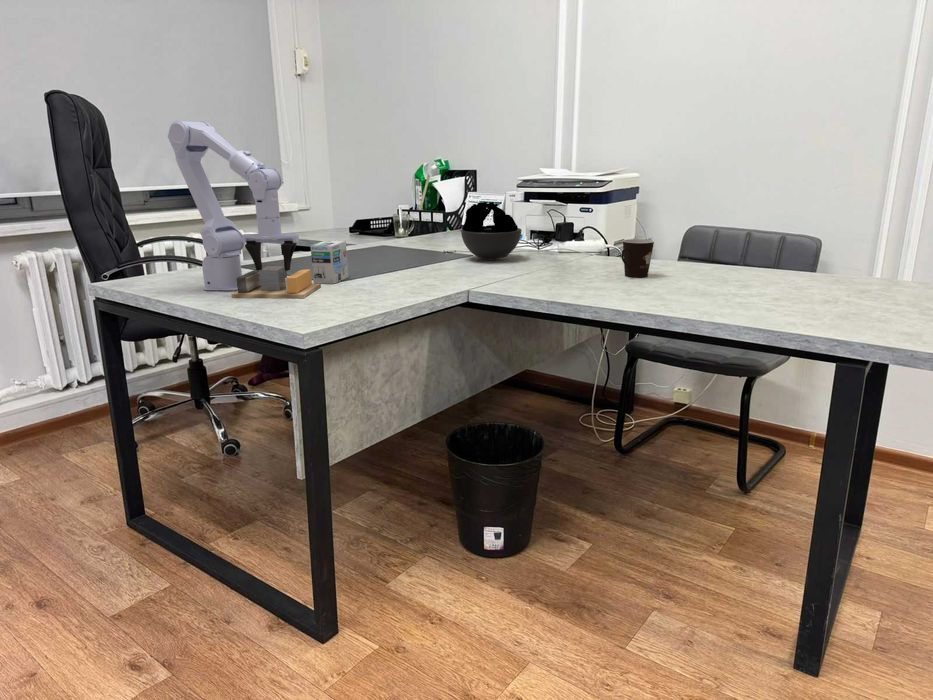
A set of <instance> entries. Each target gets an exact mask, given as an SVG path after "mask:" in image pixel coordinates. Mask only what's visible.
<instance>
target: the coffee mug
mask: <svg viewBox="0 0 933 700" xmlns="http://www.w3.org/2000/svg"><path fill="white" fill-rule="evenodd" d="M654 243H655V240H652V239H646V238H645V239H644V238H643V239H642V238H629V239H624V240H622V251H621V255H620V256H621V257H620V258H621V261H622V263H623V267H624V268H623V269H624V277H626V278H631V279H645V278H648V276H649V270H650V265H651V260H652V255H653V250H654Z"/></svg>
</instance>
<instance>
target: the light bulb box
mask: <svg viewBox="0 0 933 700" xmlns="http://www.w3.org/2000/svg"><path fill="white" fill-rule="evenodd" d="M310 253H311V254H310V255H311V265H312V269H311V270H312V282H313V284H330V285H331V284H332V285H333V284H337V283H340V282H341V280H342V281H343V280H346V279H348V278H349V268H348V253H347V242H346V240H324V241H321V242H320V241H319V242H317V243H314V244H311V245H310Z"/></svg>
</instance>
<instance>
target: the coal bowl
mask: <svg viewBox="0 0 933 700" xmlns="http://www.w3.org/2000/svg"><path fill="white" fill-rule="evenodd" d="M500 205H501V204H500V203H494V201H490V202H487V201H484V202H483V201H482V202H477V204H476V203H473V204H472V205H471V206H470V207H468V208H467V209H466V210H465V221H464V223H463V225H462V227H461V230H460V234H461V238H462V241H463V243H464V245H465V247H466V248H467V250H468V251H469V252H471V253H472V254H473V255H474V256H475V257H477V258H479V259H482V260H487V261H495V260H500V259H502V258H504V257H505V258H506V257H507V256H508V255H509V254H511V253H512V252H513V251H514V250H515V249H516V247H517V246H518V244H519V242H520V240H521V235H522V228H520V227H518V225H517V222H516V221H515V220H514V218H513V216H512V215H511V214H507V213H506V212H505V210H504V209H502V208H500V207H499V206H500ZM491 212H493V213H492V222H493V224H489V225H484V222H485V220H486V218H487V217H488V216H489V214H490V213H491Z"/></svg>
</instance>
